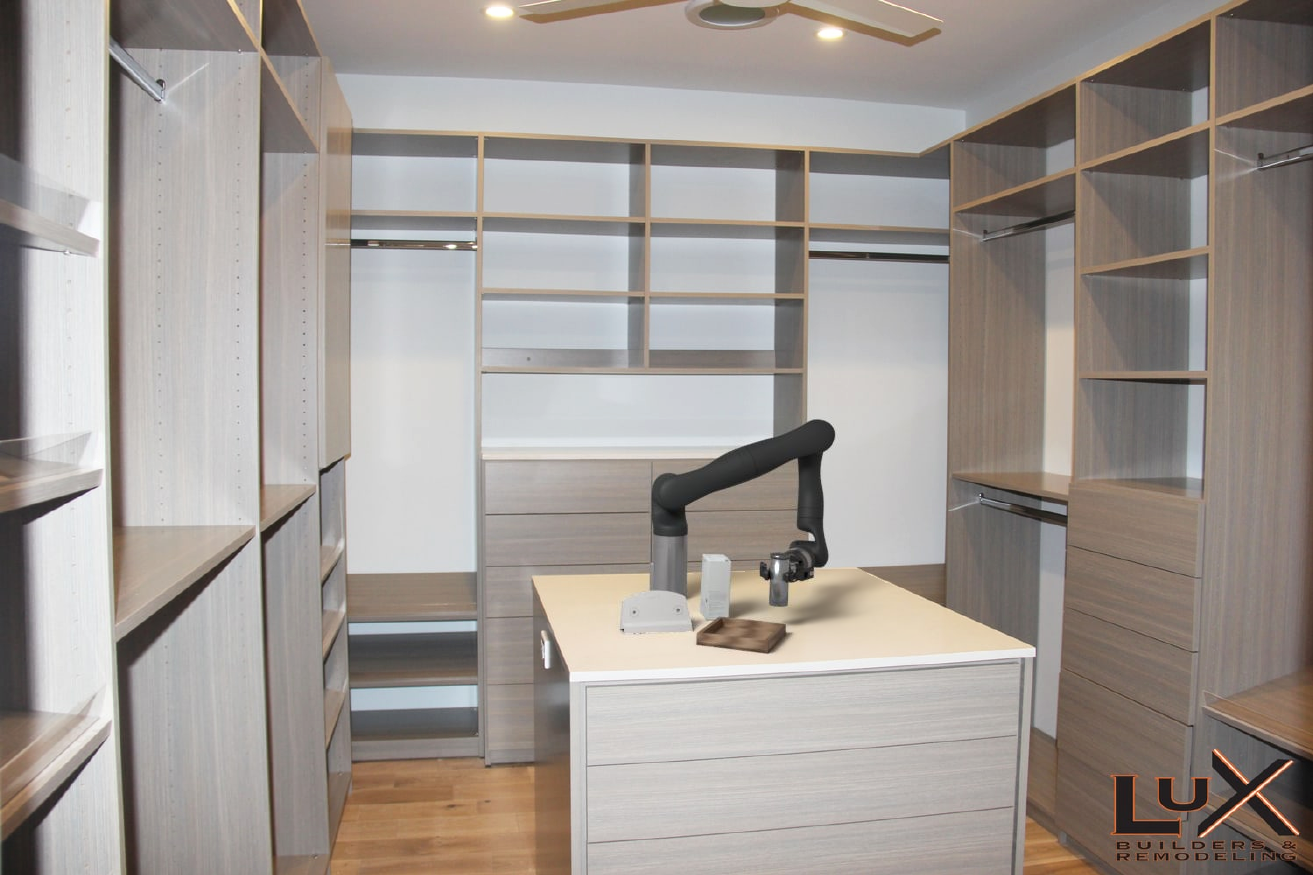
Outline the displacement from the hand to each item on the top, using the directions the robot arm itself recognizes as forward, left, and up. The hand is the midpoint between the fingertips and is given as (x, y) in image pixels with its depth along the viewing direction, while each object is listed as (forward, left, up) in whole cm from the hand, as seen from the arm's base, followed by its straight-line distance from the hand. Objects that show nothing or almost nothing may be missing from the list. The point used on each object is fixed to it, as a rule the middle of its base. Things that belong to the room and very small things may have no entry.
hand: (776, 577), depth 210 cm
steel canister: (0, +3, -7) cm, 8 cm away
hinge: (-26, -11, -13) cm, 31 cm away
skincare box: (-17, +6, -13) cm, 22 cm away
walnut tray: (-5, -11, -12) cm, 17 cm away
